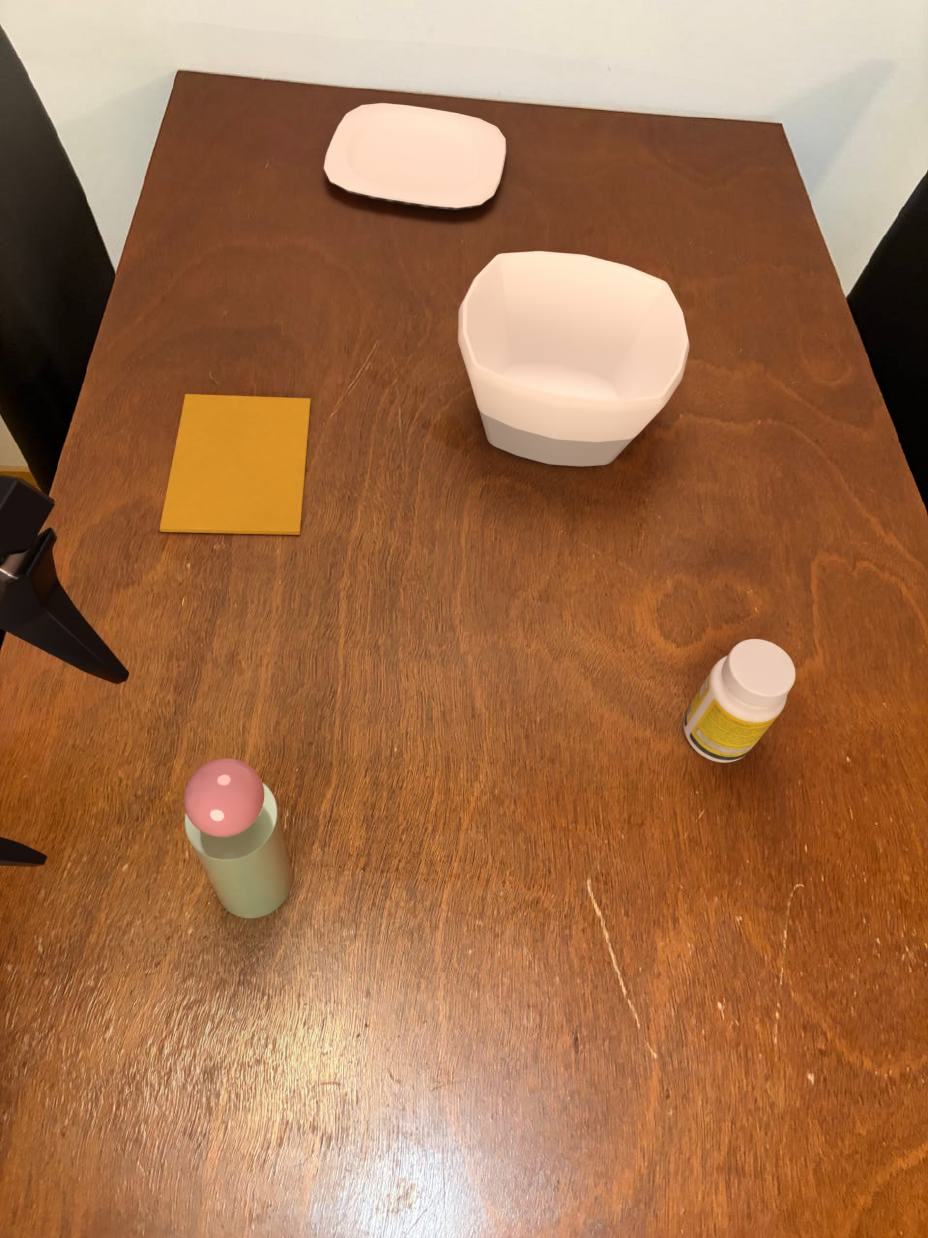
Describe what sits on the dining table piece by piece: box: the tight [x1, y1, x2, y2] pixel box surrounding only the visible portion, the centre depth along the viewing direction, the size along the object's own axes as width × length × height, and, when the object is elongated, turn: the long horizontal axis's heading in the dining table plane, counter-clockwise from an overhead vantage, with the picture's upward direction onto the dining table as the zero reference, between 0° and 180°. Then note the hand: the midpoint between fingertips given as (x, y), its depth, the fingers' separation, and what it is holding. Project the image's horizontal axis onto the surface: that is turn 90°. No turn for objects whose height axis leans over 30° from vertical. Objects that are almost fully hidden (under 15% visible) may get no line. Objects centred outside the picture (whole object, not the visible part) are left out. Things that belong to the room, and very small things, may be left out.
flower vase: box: [183, 757, 294, 919], centre depth 45 cm, size 4×4×14 cm
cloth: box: [159, 393, 312, 536], centre depth 68 cm, size 14×10×1 cm
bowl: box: [457, 250, 690, 467], centre depth 71 cm, size 18×18×9 cm
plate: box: [323, 102, 507, 211], centre depth 93 cm, size 18×18×2 cm
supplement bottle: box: [682, 638, 796, 764], centre depth 56 cm, size 5×5×8 cm
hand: (85, 765), depth 41 cm, fingers open, 9 cm apart
